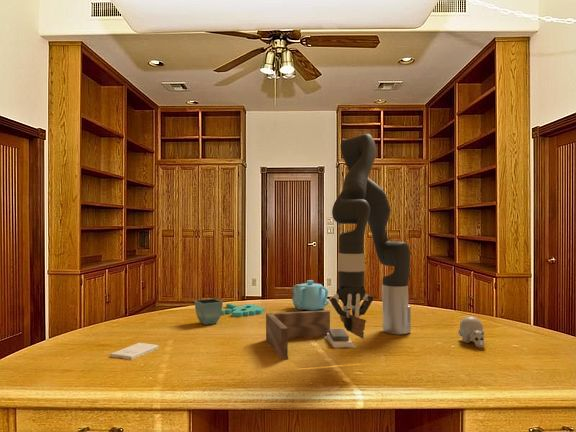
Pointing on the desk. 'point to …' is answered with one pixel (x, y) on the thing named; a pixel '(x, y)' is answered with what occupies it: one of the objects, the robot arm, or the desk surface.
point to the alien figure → (242, 310)
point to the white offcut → (339, 342)
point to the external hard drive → (134, 351)
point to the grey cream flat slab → (340, 347)
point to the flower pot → (208, 310)
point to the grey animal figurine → (472, 331)
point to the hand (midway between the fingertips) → (351, 330)
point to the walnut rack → (294, 328)
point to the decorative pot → (310, 296)
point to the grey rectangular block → (338, 335)
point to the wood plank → (356, 325)
